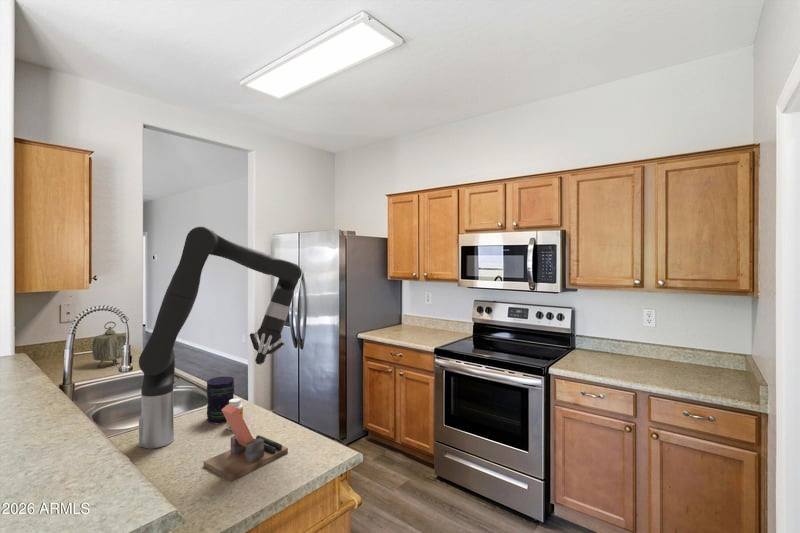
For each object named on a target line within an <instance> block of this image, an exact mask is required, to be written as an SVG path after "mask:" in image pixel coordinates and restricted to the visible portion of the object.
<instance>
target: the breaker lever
mask: <svg viewBox="0 0 800 533" xmlns="http://www.w3.org/2000/svg"><path fill="white" fill-rule="evenodd" d="M222 412H223V414H224V416H225V418H226V420H227V422H228V424H229V426H230V427H231V429H232V430H231V431H232V433H233V436H235V437H236V439H237V441H238V443H239V444H240V445H242V446H244V447H246V444H247V443H250V442H252V441H254V439H255V438H254V437H253V435H252V433H251V432H250V430H249V428H248V425H247V424H246V422H245V419H244V416H243V417H242V415H241V413H240V411H239V409H238V408H237V407H234V406H231V405H229V404H228V405H226V406H225V407H224V408H223V409H222ZM227 422H226V423H227ZM253 438H254V439H253Z"/></svg>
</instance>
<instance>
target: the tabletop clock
mask: <svg viewBox="0 0 800 533" xmlns="http://www.w3.org/2000/svg"><path fill="white" fill-rule="evenodd" d="M108 324H114V325H113V326H108V327H106V326H107V325H108ZM116 326H117V324H116V323H115V322H114V321H107V322H106V323H105V324H104V326H103V327H104V329H105V332H104V333H102V334H99V335H96V336H95V337H93V340H92V347H91V349H92V350H91V352H92V358H93V360H94V361H100V362H99V363H98V364H97V365H96V368H98V369H99V368H100V367H101V364H102V363H104V362H110V361H112V366H114V367H115V366H116V365H117V364H116V363H117V362H118V359H121V358H123V357H122V347H123V346H124V345H125V342H126V339H127V336H126V335H125V334H123V333H116V331H115V330H114V328H115V327H116Z"/></svg>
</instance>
